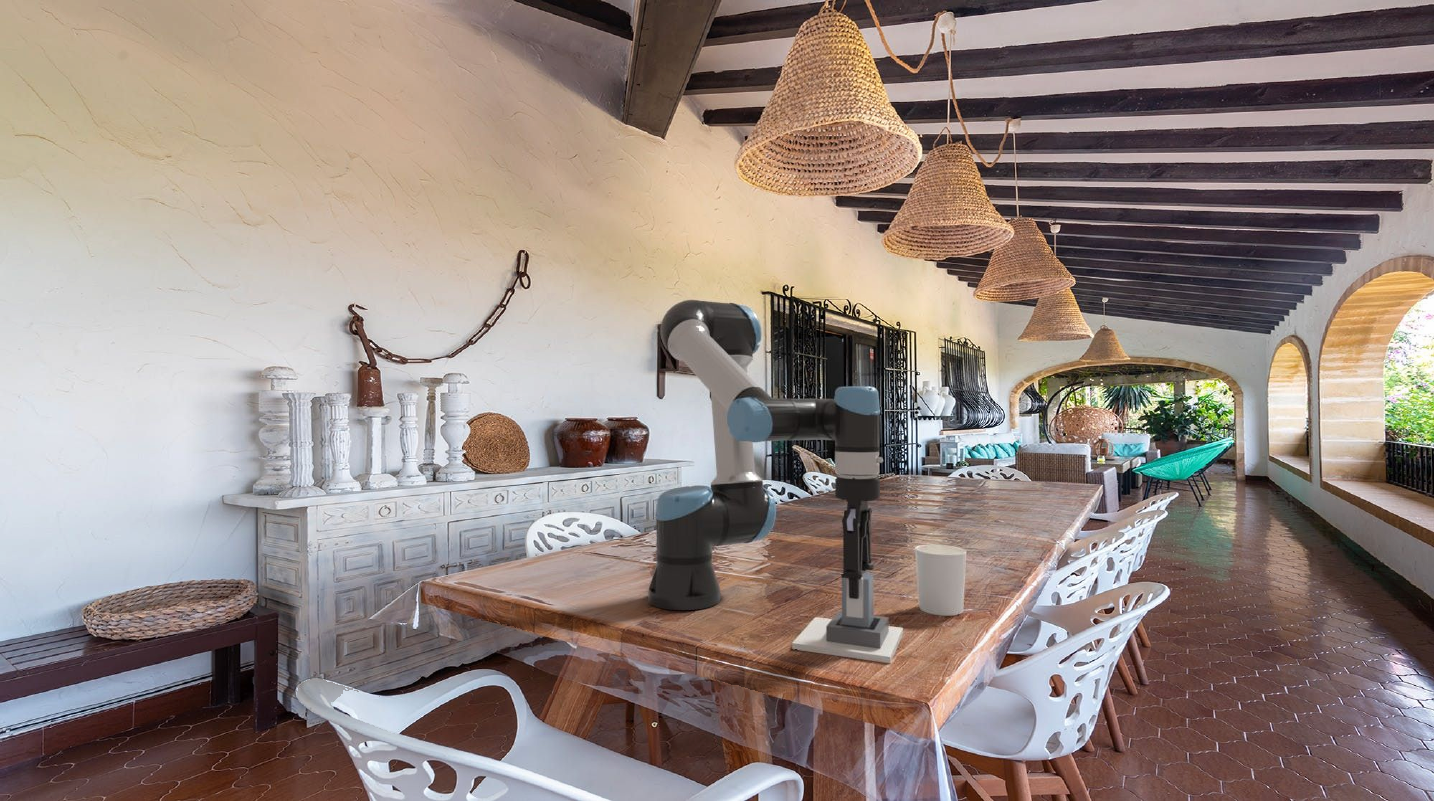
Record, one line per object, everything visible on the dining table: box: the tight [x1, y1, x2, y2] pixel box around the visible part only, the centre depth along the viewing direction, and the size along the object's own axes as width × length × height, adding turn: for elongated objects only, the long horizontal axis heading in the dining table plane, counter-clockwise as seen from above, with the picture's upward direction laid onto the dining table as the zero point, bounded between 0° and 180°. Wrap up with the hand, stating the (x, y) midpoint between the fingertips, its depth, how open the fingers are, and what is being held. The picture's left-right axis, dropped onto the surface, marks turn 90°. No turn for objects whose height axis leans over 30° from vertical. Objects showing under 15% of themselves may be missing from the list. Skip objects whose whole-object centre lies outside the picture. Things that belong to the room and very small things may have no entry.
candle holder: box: [914, 544, 968, 617], centre depth 132 cm, size 10×10×12 cm
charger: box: [841, 572, 875, 628], centre depth 113 cm, size 4×4×8 cm
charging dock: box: [791, 611, 904, 664], centre depth 114 cm, size 16×15×4 cm
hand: (858, 611), depth 113 cm, fingers closed on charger, 4 cm apart
